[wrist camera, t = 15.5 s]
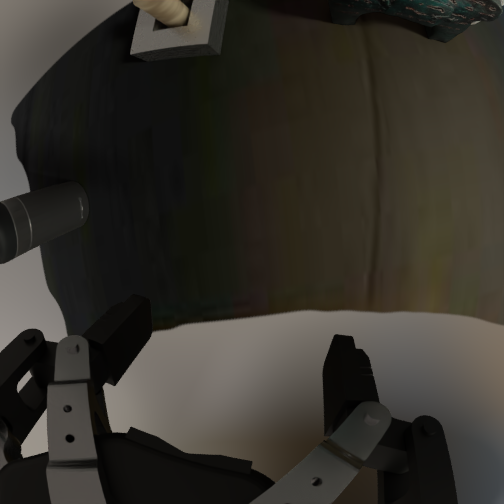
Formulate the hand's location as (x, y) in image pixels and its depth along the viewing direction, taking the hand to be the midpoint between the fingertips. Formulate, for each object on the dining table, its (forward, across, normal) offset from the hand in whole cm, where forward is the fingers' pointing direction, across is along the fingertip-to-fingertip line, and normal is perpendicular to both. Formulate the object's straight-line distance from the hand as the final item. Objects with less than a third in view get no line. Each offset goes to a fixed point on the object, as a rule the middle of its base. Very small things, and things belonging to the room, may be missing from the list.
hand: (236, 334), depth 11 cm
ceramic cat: (+27, -13, -30) cm, 43 cm away
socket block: (+29, +17, -27) cm, 43 cm away
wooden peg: (+29, +17, -27) cm, 43 cm away
